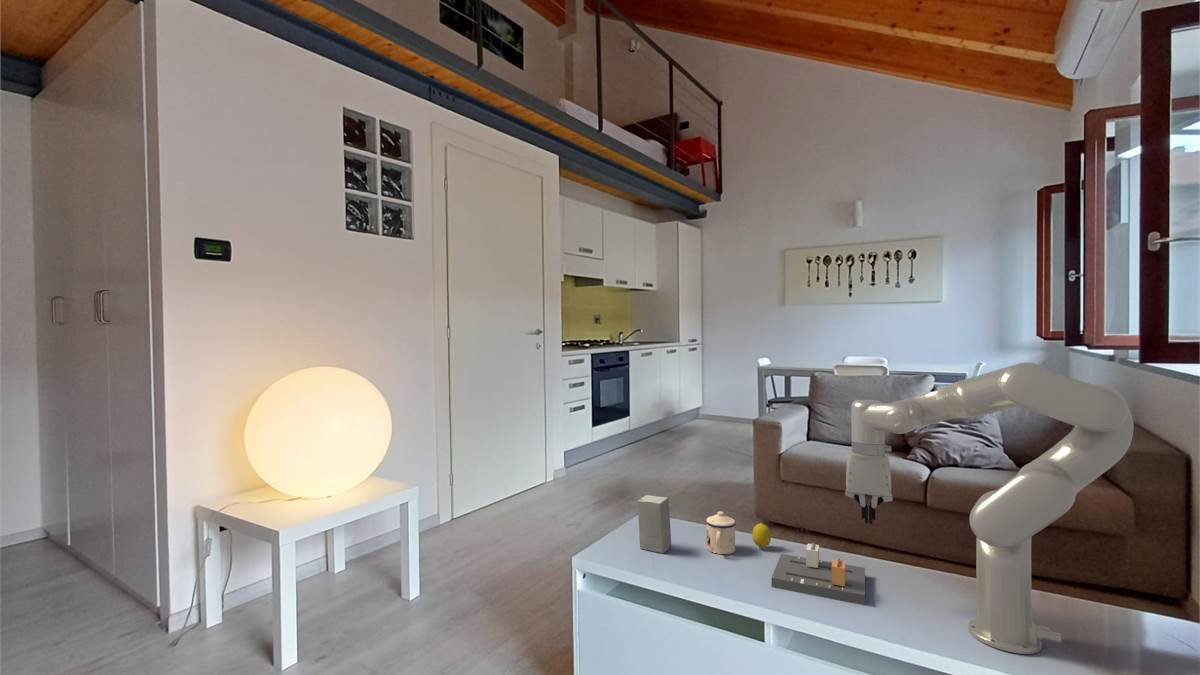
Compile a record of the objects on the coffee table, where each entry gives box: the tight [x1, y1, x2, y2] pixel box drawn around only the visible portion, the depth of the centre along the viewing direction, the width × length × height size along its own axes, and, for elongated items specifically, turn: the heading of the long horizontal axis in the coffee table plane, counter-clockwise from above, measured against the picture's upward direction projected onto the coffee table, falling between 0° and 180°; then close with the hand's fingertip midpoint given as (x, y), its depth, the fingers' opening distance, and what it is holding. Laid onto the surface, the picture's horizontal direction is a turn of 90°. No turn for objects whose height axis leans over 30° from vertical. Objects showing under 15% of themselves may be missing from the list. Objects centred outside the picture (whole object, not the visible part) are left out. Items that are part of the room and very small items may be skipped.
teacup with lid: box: [705, 510, 737, 555], centre depth 164 cm, size 12×9×12 cm
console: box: [770, 553, 866, 606], centre depth 143 cm, size 22×18×2 cm
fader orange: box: [831, 557, 846, 586], centre depth 137 cm, size 3×5×5 cm, turn 153°
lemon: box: [752, 522, 772, 549], centre depth 166 cm, size 6×6×8 cm
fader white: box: [805, 542, 820, 568], centre depth 148 cm, size 3×5×5 cm, turn 153°
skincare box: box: [637, 494, 672, 554], centre depth 166 cm, size 8×7×16 cm
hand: (868, 521), depth 134 cm, fingers closed
